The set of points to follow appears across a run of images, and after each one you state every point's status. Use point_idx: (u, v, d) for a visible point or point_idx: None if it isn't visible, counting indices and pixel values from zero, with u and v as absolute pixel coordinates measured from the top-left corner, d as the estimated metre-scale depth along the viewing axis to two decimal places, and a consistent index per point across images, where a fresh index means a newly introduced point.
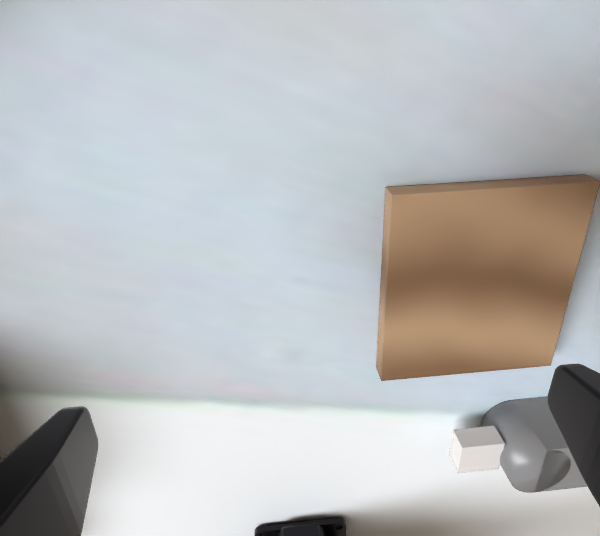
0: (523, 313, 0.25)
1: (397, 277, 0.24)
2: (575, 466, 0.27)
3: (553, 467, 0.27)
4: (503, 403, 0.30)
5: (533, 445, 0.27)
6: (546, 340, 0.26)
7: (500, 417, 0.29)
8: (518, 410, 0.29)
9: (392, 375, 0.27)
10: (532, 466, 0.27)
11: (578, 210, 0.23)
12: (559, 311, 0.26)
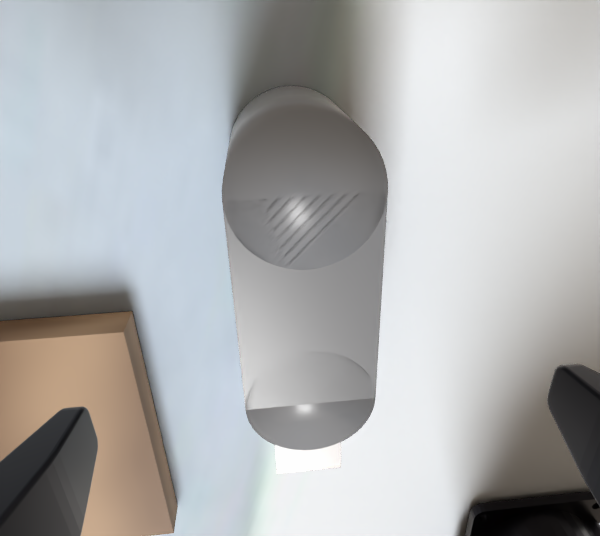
0: (19, 401, 0.15)
1: None
2: (304, 342, 0.12)
3: (301, 383, 0.13)
4: None
5: None
6: (67, 354, 0.15)
7: None
8: None
9: (163, 524, 0.19)
10: (292, 421, 0.13)
11: None
12: (0, 351, 0.14)
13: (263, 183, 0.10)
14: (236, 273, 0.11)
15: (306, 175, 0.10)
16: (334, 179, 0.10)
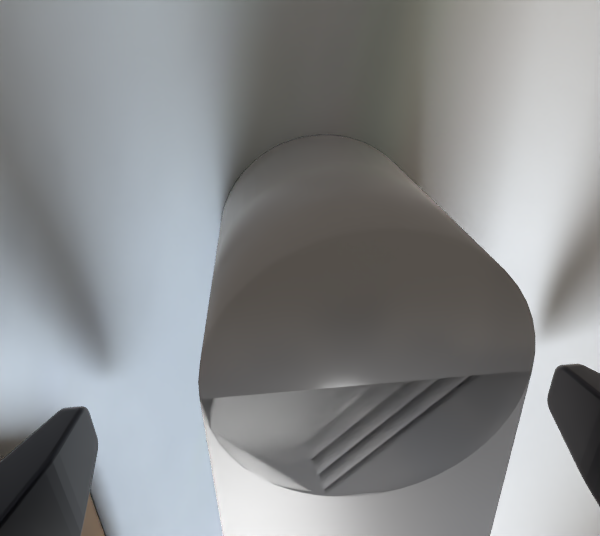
0: None
1: None
2: None
3: None
4: None
5: None
6: None
7: None
8: None
9: None
10: None
11: None
12: None
13: (284, 366, 0.05)
14: (229, 507, 0.06)
15: (373, 349, 0.05)
16: (429, 354, 0.05)
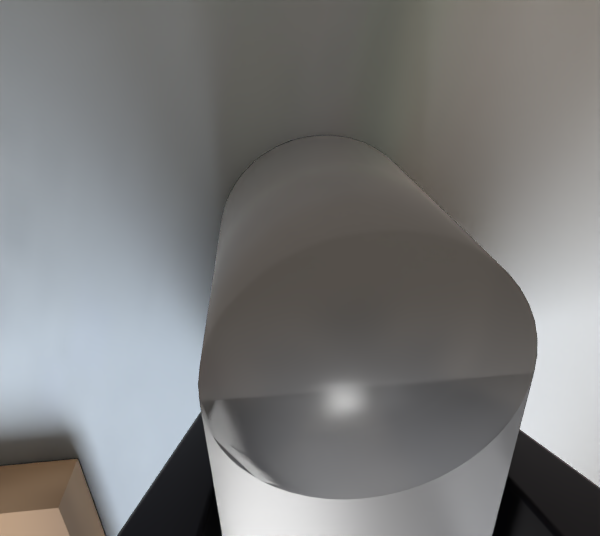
0: None
1: None
2: None
3: None
4: None
5: None
6: None
7: None
8: None
9: None
10: None
11: None
12: None
13: (284, 368, 0.05)
14: (229, 509, 0.06)
15: (374, 351, 0.05)
16: (431, 356, 0.05)
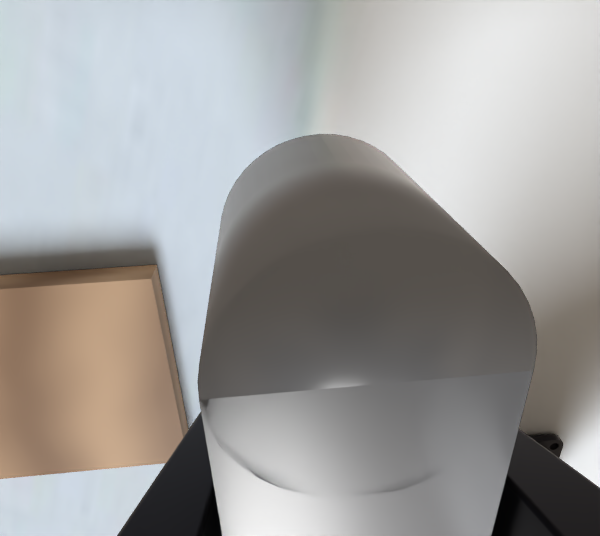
0: (64, 337, 0.19)
1: (42, 467, 0.22)
2: None
3: None
4: None
5: None
6: (105, 297, 0.18)
7: None
8: None
9: None
10: None
11: None
12: (52, 294, 0.18)
13: (284, 366, 0.05)
14: (229, 507, 0.06)
15: (373, 349, 0.05)
16: (430, 354, 0.05)
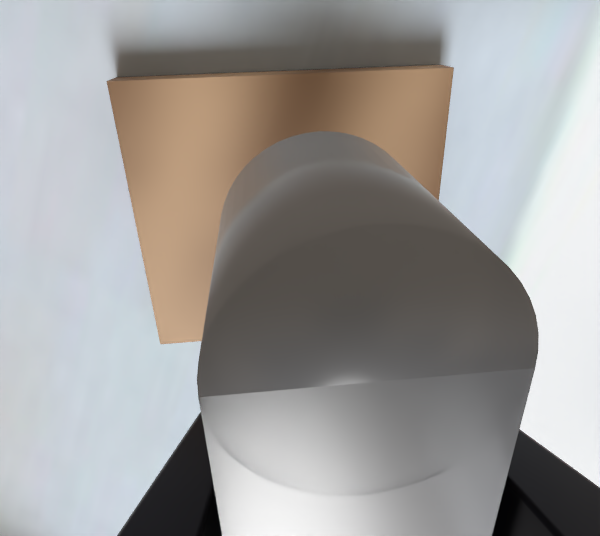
0: None
1: None
2: None
3: None
4: None
5: None
6: (396, 91, 0.15)
7: None
8: None
9: None
10: None
11: (157, 103, 0.15)
12: (338, 83, 0.15)
13: (284, 363, 0.05)
14: (229, 506, 0.06)
15: (374, 346, 0.05)
16: (431, 351, 0.05)
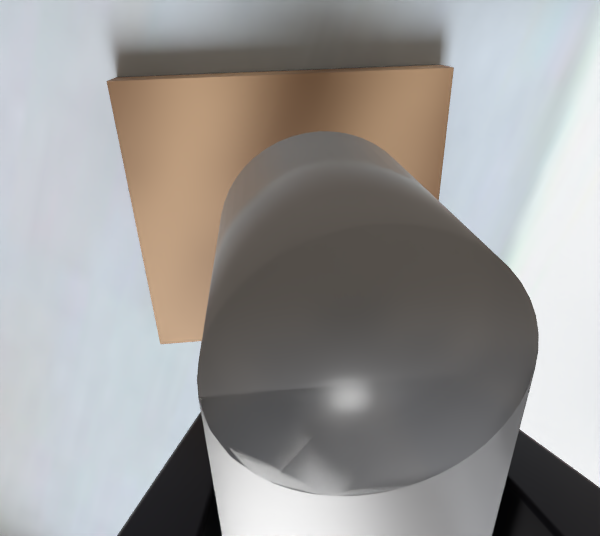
0: None
1: None
2: None
3: None
4: None
5: None
6: (396, 91, 0.15)
7: None
8: None
9: None
10: None
11: (157, 103, 0.15)
12: (338, 83, 0.15)
13: (284, 364, 0.05)
14: (229, 506, 0.06)
15: (374, 346, 0.05)
16: (431, 351, 0.05)
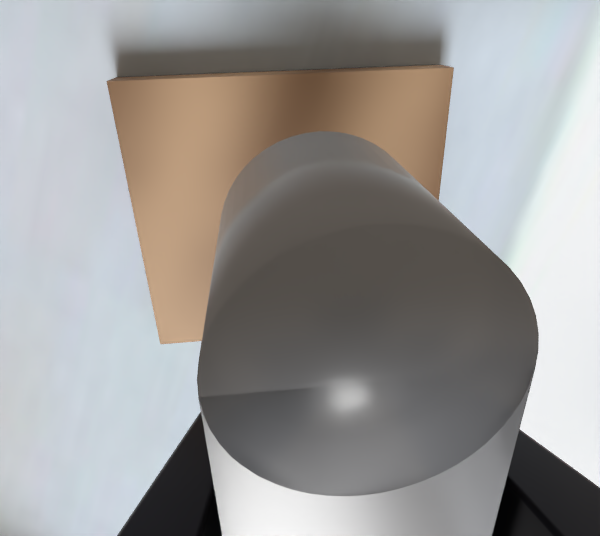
0: None
1: None
2: None
3: None
4: None
5: None
6: (396, 91, 0.15)
7: None
8: None
9: None
10: None
11: (157, 103, 0.15)
12: (338, 83, 0.15)
13: (284, 364, 0.05)
14: (229, 506, 0.06)
15: (374, 346, 0.05)
16: (431, 351, 0.05)
